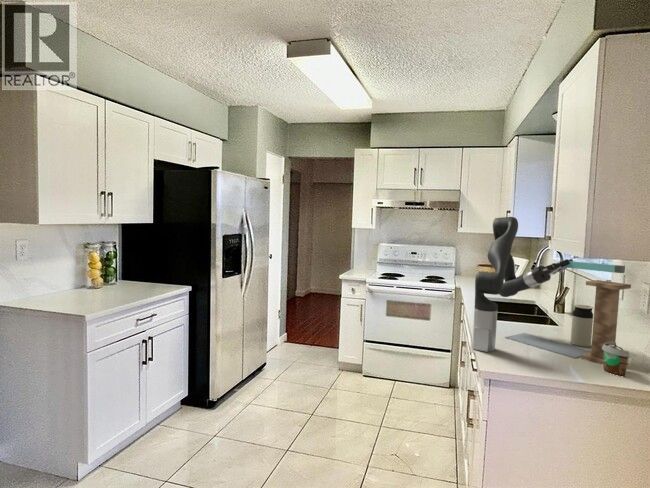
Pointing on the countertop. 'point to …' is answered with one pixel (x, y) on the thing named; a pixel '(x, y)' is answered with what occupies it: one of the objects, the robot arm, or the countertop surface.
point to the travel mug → (582, 325)
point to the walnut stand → (604, 317)
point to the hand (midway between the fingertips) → (570, 261)
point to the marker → (596, 266)
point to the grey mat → (549, 345)
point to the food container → (615, 359)
